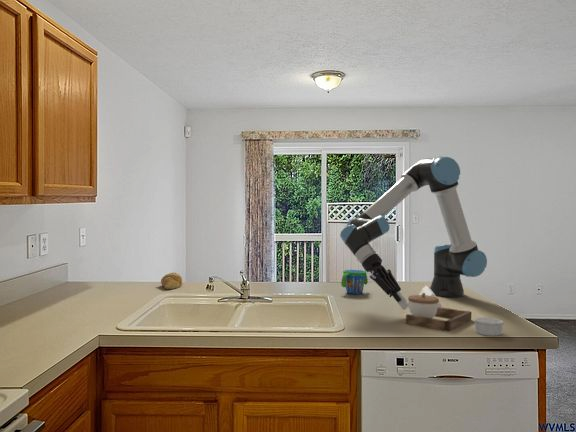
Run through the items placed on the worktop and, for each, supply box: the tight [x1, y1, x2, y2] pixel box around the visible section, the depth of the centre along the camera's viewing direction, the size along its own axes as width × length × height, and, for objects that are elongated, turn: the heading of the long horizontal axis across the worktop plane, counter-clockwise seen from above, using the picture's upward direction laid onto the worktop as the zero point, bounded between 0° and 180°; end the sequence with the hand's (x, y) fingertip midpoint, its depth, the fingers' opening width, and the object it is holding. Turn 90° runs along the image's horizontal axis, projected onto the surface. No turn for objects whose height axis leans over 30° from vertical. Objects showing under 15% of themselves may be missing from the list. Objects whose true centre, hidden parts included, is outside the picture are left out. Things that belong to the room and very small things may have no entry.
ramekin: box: [474, 316, 504, 337], centre depth 165 cm, size 9×9×4 cm
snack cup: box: [340, 269, 369, 295], centre depth 233 cm, size 16×10×10 cm
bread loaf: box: [160, 272, 183, 290], centre depth 244 cm, size 21×10×8 cm, turn 4°
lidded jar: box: [408, 293, 440, 318], centre depth 183 cm, size 11×11×9 cm
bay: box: [405, 306, 472, 332], centre depth 179 cm, size 16×21×3 cm
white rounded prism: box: [418, 285, 443, 307], centre depth 206 cm, size 7×7×24 cm
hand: (406, 307), depth 186 cm, fingers closed
